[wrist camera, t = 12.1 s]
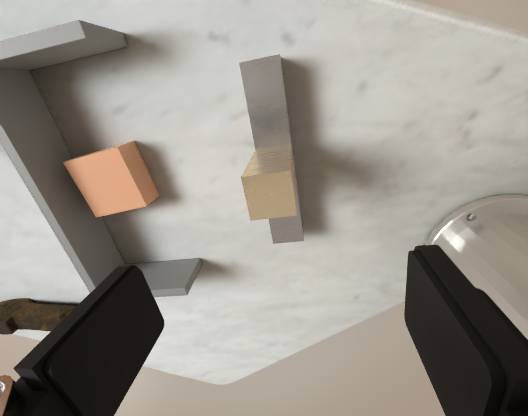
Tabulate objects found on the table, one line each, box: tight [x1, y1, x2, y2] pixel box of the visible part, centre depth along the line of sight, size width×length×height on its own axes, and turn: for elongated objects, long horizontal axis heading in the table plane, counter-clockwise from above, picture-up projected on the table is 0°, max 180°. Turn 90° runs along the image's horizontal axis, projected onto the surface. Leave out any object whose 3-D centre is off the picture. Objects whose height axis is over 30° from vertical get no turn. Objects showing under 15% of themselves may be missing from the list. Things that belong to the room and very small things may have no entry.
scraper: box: [239, 54, 304, 244], centre depth 20 cm, size 3×16×10 cm, turn 10°
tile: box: [63, 141, 159, 217], centre depth 26 cm, size 6×6×3 cm
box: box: [0, 20, 202, 297], centre depth 25 cm, size 11×24×5 cm, turn 10°
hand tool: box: [0, 298, 77, 334], centre depth 36 cm, size 19×4×5 cm, turn 88°
